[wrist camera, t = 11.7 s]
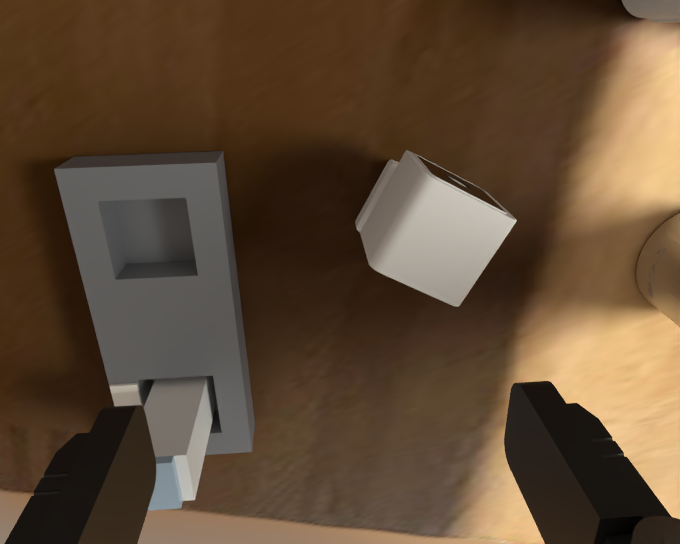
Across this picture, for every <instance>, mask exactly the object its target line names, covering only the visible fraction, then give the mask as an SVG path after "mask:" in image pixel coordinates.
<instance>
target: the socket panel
mask: <svg viewBox="0 0 680 544" xmlns="http://www.w3.org/2000/svg"><path fill="white" fill-rule="evenodd" d="M54 171H55V175H56V179H57V183H58V187H59V191H60V195H61V199H62V203H63V207H64V210H65V214H66V218H67V222H68V226H69V230H70V234H71V238H72V242H73V246H74V250H75V254H76V257H77V261H78V265H79V269H80V273H81V277H82V281H83V285H84V289H85V293H86V297H87V301H88V304H89V308H90V312H91V316H92V320H93V324H94V328H95V332H96V336H97V340H98V344H99V348H100V351H101V355H102V359H103V363H104V367H105V371H106V375H107V379H108V383H109V387H110V391H111V395H112V398H113V402H114V406H131V405H141V406H142V407H143V408H144V406H145V403H146V401H147V398H148V396H149V393H150V391H151V388H152V386H153V383H154V381H155V379H162V378H179V377H196V376H212V380H213V386H214V393H215V400H216V407H215V411H214V416H213V420H212V425H211V429H210V434H209V438H208V443H207V447H206V452H205V455H212V454H227V453H242V452H252V447H253V438H254V429H255V420H254V412H253V403H252V395H251V386H250V377H249V369H248V360H247V352H246V343H245V335H244V326H243V318H242V309H241V301H240V292H239V283H238V275H237V266H236V258H235V249H234V241H233V232H232V224H231V215H230V207H229V198H228V189H227V181H226V172H225V164H224V155H223V151H211V152H184V153H158V154H132V155H106V156H80V157H73V158H71V159H70V160H68V161H66V162H65V163H63V164H61V165H60V166H58V167H56V168H55V169H54Z"/></svg>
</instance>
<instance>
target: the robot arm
mask: <svg viewBox="0 0 680 544" xmlns="http://www.w3.org/2000/svg"><path fill="white" fill-rule="evenodd" d="M636 278H637V284H638V287H639V289H640V292H641V293H642V295H643V296H644V297H645V298H646V300H647V301H649V302H650V303H651V304H652V305H654V306H655V307H656V308H657V309H658V310H660V311H661V312H662V313H663V314H665V315H666V316H667V317H668V318H670V319H671V320H672V321H673V322H675V323H676V324H677V325H678V326H679V327H680V213H678V214H676V215H675V216H673V217H672V218H670V219H668V220H667V221H666V222H665V223H663V224H662V225H661V226H660V227H659V228H658V229H657V230H656V231H655V232H654V233H653V234H652V236H651V237H650V238H649V239H648V240H647V242H646V244H645V246H644V247H643V249H642V251H641V254H640V256H639V259H638V262H637V270H636ZM504 445H505V453H506V458H507V461H508V464H509V467H510V469H511V471H512V473H513V476H514V478H515V480H516V482H517V484H518V486H519V488H520V491H521V493H522V495H523V497H524V499H525V501H526V503H527V506H528V508H529V510H530V512H531V514H532V516H533V519H534V521H535V523H536V525H537V527H538V529H539V531H540V534H541V536H542V538H543V540H544V542H545V544H680V519H677V518H672V517H671V516H670V514H669V513H668V512H667V510H666V509H665V508H664V506H663V505H662V504H661V502H660V501H659V500H658V498H657V497H656V495H655V494H654V493H653V491H652V490H651V489H650V487H649V486H648V485H647V483H646V482H645V481H644V479H643V478H642V477H641V475H640V474H639V473H638V471H637V470H636V469H635V467H634V466H633V465H632V463H631V462H630V461H629V459H628V458H627V457H624V453H623V451H622V450H621V448H620V447H619V446H618V444H617V443H616V442H615V441H613V440H612V436H611V435H610V434H609V432H608V431H607V430H606V428H605V427H604V426H603V424H602V423H601V422H600V420H599V419H598V418H597V417H595V416H594V415H593V414H591V413H590V412H588V411H587V410H586V409H584V408H583V407H582V406H580V405H579V404H577V403H571V404H566V402H565V401H564V399H563V398H562V397H561V395H560V394H559V392H558V391H557V389H556V388H555V386H554V385H553V384H552V383H551V382H549V381H541V382H525V383H514V384H513V386H512V388H511V393H510V400H509V407H508V415H507V422H506V429H505V437H504ZM155 482H156V458H155V454H154V449H153V445H152V440H151V436H150V432H149V427H148V423H147V418H146V414H145V411H144V408H143V407H142V406H141V405H131V406H115V407H104V408H103V409H102V410H101V411H100V413H99V415H98V417H97V419H96V421H95V423H94V425H93V427H92V429H91V431H90V433H79V434H76V435H75V436H74V437H72V438H71V439H70V440H69V441H68V442H67V443H66V444H65V445H64V446H63V447H62V448H61V449H59V450H58V451H57V452H56V454H55V455H54V457H53V459H52V461H51V462H50V464H49V466H48V468H47V470H46V471H45V473H44V478H41V480H40V482H39V484H38V485H37V487H36V489H35V491H34V496H31V498H30V500H29V501H28V503H27V505H26V507H25V508H24V510H23V512H22V514H21V515H20V517H19V519H18V521H17V523H16V524H15V526H14V528H13V530H12V531H11V533H10V535H9V537H8V539H7V540H6V542H5V544H137V542H138V539H139V536H140V532H141V530H142V527H143V523H144V520H145V517H146V514H147V511H148V507H149V504H150V501H151V498H152V495H153V491H154V488H155Z"/></svg>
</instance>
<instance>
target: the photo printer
mask: <svg viewBox="0 0 680 544" xmlns="http://www.w3.org/2000/svg"><path fill="white" fill-rule="evenodd" d="M622 3H623V5H624V7H625V8H626V10H627V11H628V12H629V13H630V14H632V15H633V16H635V17H639V18H649V19H650V21H651V22H660V23H661V22H663V23H664V22H680V0H622Z"/></svg>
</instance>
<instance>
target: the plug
mask: <svg viewBox="0 0 680 544" xmlns="http://www.w3.org/2000/svg"><path fill="white" fill-rule="evenodd" d="M215 407H216V400H215V393H214V386H213V380H212V376H196V377H179V378H162V379H155V381H154V383H153V386H152V388H151V391H150V393H149V396H148V398H147V401H146V403H145V406H144V411H145V414H146V418H147V423H148V427H149V432H150V436H151V440H152V445H153V449H154V454H155V458H156V482H155V488H154V491H153V495H152V498H151V501H150V504H149V507H148V510H162V509H176V508H181V506H182V502H183V501H188V500H195V497H196V493H197V488H198V484H199V479H200V475H201V470H202V466H203V461H204V456H205V452H206V447H207V443H208V438H209V434H210V429H211V425H212V420H213V416H214V411H215Z"/></svg>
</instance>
